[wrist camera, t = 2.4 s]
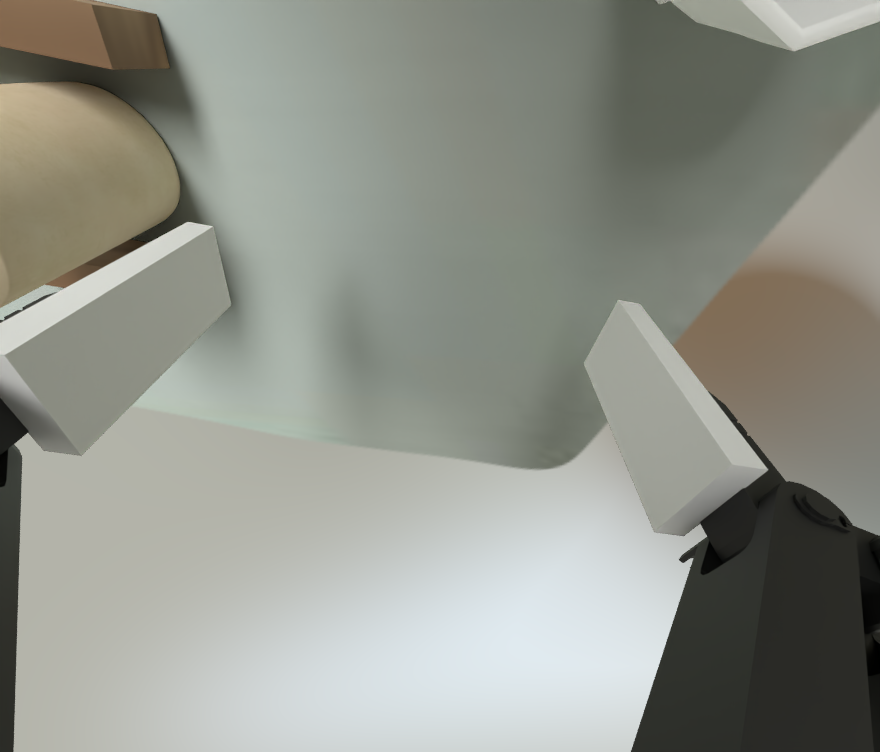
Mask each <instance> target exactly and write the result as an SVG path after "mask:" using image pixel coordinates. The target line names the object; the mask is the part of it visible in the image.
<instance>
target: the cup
mask: <svg viewBox="0 0 880 752" xmlns="http://www.w3.org/2000/svg"><path fill="white" fill-rule="evenodd" d="M655 1H656V2H657V3H659V4H663V3H666V2H668V1H670V2H672V3H673V4H674V5H675V6H676V7H678V8H679V9H680V10H681V11H683V12H684V13H685V14H687V15H688V16H689V17H690V18H692V19H693V20H694V21H695V22H697V23H700V24H704V25H708V26H712V27H715V28H719V29H723V30H726V31H730V32H734V33H737V34H740V35H742V36H745V37H748V38H751V39H754V40H757V41H759V42H762V43H766V44H769V45H773V46H776V47H780V48H783V49H786V50H790V51H793V52H794V51H797V50H800V49H803V48H806V47H808V46H811V45H814V44H817V43H820V42H823V41H825V40H828V39H831V38H834V37H837V36H840V35H843V34H845V33H848V32H851V31H854V30H857V29H860V28H862V27H865V26H868V25H871V24H874V23H877V22H880V0H655Z"/></svg>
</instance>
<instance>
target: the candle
mask: <svg viewBox="0 0 880 752" xmlns="http://www.w3.org/2000/svg"><path fill="white" fill-rule="evenodd" d="M179 198H180V181H179V176H178V172H177V169H176V166H175V163H174V161H173V158H172V156H171V154H170V152H169V150H168V149H167V147H166V145H165V144H164V142H163V140H162V139H161V138H160V136H159V135H158V134H157V132H156V131H155V130H154V128H153V127H152V126H151V125H150V124H149V123H148V122H147V121H146V120H145V119H144V118H143V117H142V116H141V115H140V114H139V113H138V112H137V111H136V110H135V109H134V108H132V107H131V106H130V105H129V104H127V103H126V102H124V101H123V100H122V99H120V98H119V97H117V96H115V95H113V94H112V93H110V92H108V91H106V90H103V89H101V88H99V87H96V86H93V85H89V84H84V83H78V82H67V81H62V82H32V83H11V84H0V308H1V307H3V306H5V305H7V304H9V303H10V302H12V301H14V300H16V299H18V298H20V297H22V296H24V295H26V294H27V293H29V292H31V291H33V290H35V289H37V288H39V287H41V286H43V285H44V284H46V283H48V282H50V281H52V280H54V279H56V278H58V277H60V276H61V275H63V274H65V273H67V272H69V271H71V270H73V269H75V268H77V267H78V266H80V265H82V264H84V263H86V262H88V261H90V260H92V259H93V258H95V257H97V256H99V255H101V254H103V253H105V252H107V251H109V250H110V249H112V248H114V247H116V246H118V245H120V244H122V243H124V242H126V241H127V240H129V239H131V238H133V237H135V236H137V235H139V234H141V233H143V232H144V231H146V230H148V229H150V228H152V227H154V226H156V225H157V224H159V223H161V222H162V221H164V220H165V219H167V218H168V217H169V216H170V215H171V214H172V213H173V211H174V210H175V209H176V207H177V205H178V202H179Z"/></svg>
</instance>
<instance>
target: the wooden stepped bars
mask: <svg viewBox="0 0 880 752" xmlns="http://www.w3.org/2000/svg"><path fill="white" fill-rule="evenodd" d="M0 46H1V47H6V48H11V49H15V50H20V51H25V52H30V53H35V54H40V55H44V56H49V57H54V58H59V59H64V60H68V61H73V62H78V63H83V64H88V65H92V66H97V67H102V68H107V69H112V70H123V69H167V68H170V66H169V62H168V58H167V54H166V50H165V46H164V42H163V38H162V34H161V30H160V26H159V22H158V18H157V14H153V13H148V12H144V11H139V10H135V9H130V8H126V7H121V6H117V5H112V4H107V3H103V2H98V1H94V0H0ZM147 243H148V242H142V241H137V240H131V239H129V240H127V241H126V242H124V243H122V244H120V245H118V246H116V247H114V248H112V249H110V250H109V251H107V252H105V253H103V254H101V255H99V256H97V257H95V258H93V259H92V260H90V261H88V262H86V263H84V264H82V265H80V266H78V267H77V268H75V269H73V270H71V271H69V272H67V273H65V274H63V275H61V276H60V277H58V278H56V279H54V280H52V281H50V282H48V283H46V284H45V285H51V286H57V287H63V288H66V287H68V286H70V285H72V284H74V283H75V282H77V281H79V280H81V279H83V278H85V277H87V276H88V275H90V274H92V273H94V272H96V271H98V270H99V269H101V268H103V267H105V266H107V265H109V264H111V263H112V262H114V261H116V260H118V259H120V258H122V257H123V256H125V255H127V254H129V253H131V252H133V251H135V250H136V249H138V248H140V247H142V246H144V245H146V244H147Z"/></svg>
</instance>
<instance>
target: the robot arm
mask: <svg viewBox="0 0 880 752" xmlns="http://www.w3.org/2000/svg"><path fill="white" fill-rule="evenodd" d="M230 306H231V300H230V296H229V292H228V287H227V283H226V279H225V274H224V270H223V266H222V262H221V257H220V253H219V249H218V244H217V240H216V236H215V231H214V227H213V226H208V225H203V224H197V223H192V222H186V223H184V224H183V225H181V226H179V227H177V228H175V229H173V230H172V231H170V232H168V233H166V234H164V235H162V236H160V237H159V238H157V239H155V240H153V241H151V242H149V243H147V244H146V245H144V246H142V247H140V248H138V249H136V250H135V251H133V252H131V253H129V254H127V255H125V256H123V257H122V258H120V259H118V260H116V261H114V262H112V263H111V264H109V265H107V266H105V267H103V268H101V269H99V270H98V271H96V272H94V273H92V274H90V275H88V276H87V277H85V278H83V279H81V280H79V281H77V282H75V283H74V284H72V285H70V286H68V287H66V288H64V289H62V290H61V291H59V292H56V293H52V294H49V295H46V296H43V297H41V298H40V299H38V300H36V301H34V302H32V303H30V304H28V305H26V306H25V307H23V310H17V311H15V312H13V313H11V314H10V315H8V316H6V317H4V318H5V319H4V320H0V752H13V747H14V746H13V745H14V713H15V679H16V677H15V676H16V644H17V612H18V611H17V610H18V577H19V543H20V509H21V477H22V476H21V474H22V456H21V453H20V451H19V449H18V448H17V447H16V446H15V445H14V443H16V442H17V441H18V440H19V439H21V438H22V437H23V436H24V435H25V434H27V433H29V434H30V435H31V437H32V438H33V439H34V440H35V441H36V442H37V443H38V445H39V446H40V447H41V448H42V449H43V450H44V451H49V452H57V453H66V454H72V455H80V456H81V455H83V454H84V453H85V452H86V451H87V450H88V449H89V448H90V447H91V446H92V445H93V444H94V442H96V441H97V440H98V439H99V438H100V437H101V436H102V435H103V434H104V433H105V432H106V431H107V429H108V428H110V427H111V426H112V425H113V424H114V423H115V422H116V421H117V420H118V419H119V417H121V416H122V415H123V414H124V413H125V412H126V410H128V409H129V408H130V407H131V406H132V405H133V404H134V403H135V401H136V400H137V399H138V398H139V397H140V396H141V395H142V394H143V393H144V392H145V391H146V390H147V389H148V388H149V387H150V386H151V385H152V384H153V383H154V382H155V381H156V380H157V379H158V378H159V377H160V376H161V375H162V374H163V373H164V372H165V371H166V370H167V369H168V368H169V367H170V366H171V365H172V364H173V363H174V362H175V361H176V360H177V359H178V358H179V357H180V356H181V355H182V354H183V353H184V352H185V351H186V350H187V349H188V348H189V347H190V346H191V345H192V344H193V343H194V342H195V341H196V340H197V339H198V338H199V337H200V336H201V335H202V334H203V333H204V332H205V331H206V330H207V329H208V328H209V327H210V326H211V325H212V324H213V323H214V322H215V321H216V320H217V319H218V318H219V317H220V316H221V315H222V314H223V313H224V312H225V311H226V310H227V309H228V308H229V307H230ZM584 366H585V368H586V371H587V373H588V375H589V378H590V380H591V383H592V385H593V387H594V390H595V392H596V395H597V397H598V399H599V402H600V404H601V406H602V409H603V411H604V414H605V416H606V418H607V421H608V423H609V426H610V428H611V430H612V432H613V435H614V437H615V440H616V442H617V445H618V447H619V449H620V452H621V454H622V457H623V459H624V461H625V464H626V466H627V468H628V471H629V473H630V476H631V478H632V480H633V483H634V485H635V487H636V490H637V492H638V495H639V497H640V499H641V501H642V504H643V506H644V509H645V511H646V514H647V516H648V519H649V521H650V523H651V526H652V528H653V530H654V532H656V533H665V534H672V535H679V536H685V535H686V534H687V533H689V532H690V531H691V530H692V529H694V528H695V527H696V526H698V525H699V524H701V525H702V527H703V529H704V531H705V533H706V535H707V537H706V538H705V539H703V540H702V541H701V542H699V543H698V544H697V545H695V546H694V547H692V548H691V549H690V550H688V551H687V552H686V553H684V554H683V555H682V556H681V557H680V559H679V560H680V561H681V562H682V563H684V562H685V561H687V560H688V559H690V558H694V559H693V562H692V565H691V567H690V571H689V574H688V578H687V581H686V584H685V587H684V590H683V593H682V596H681V599H680V602H679V605H678V608H677V611H676V615H675V618H674V621H673V624H672V627H671V630H670V633H669V636H668V639H667V642H666V645H665V648H664V652H663V655H662V658H661V661H660V664H659V667H658V670H657V673H656V677H655V679H654V682H653V685H652V689H651V692H650V695H649V698H648V701H647V704H646V707H645V710H644V714H643V717H642V719H641V722H640V726H639V729H638V732H637V735H636V738H635V741H634V744H633V747H632V750H631V752H880V536H878V535H875V534H873V533H870V532H868V531H865V530H863V529H860V528H857V527H855V526H853V525H852V523H851V522H850V521H849V519H848V518H847V517H846V516H845V515H844V513H843V512H842V511H841V510H840V509H839V508H838V507H837V506H836V505H835V504H833V503H832V502H831V501H830V500H829V499H827V498H826V497H824V496H823V495H821V494H820V493H818V492H817V491H815V490H813V489H811V488H808V487H806V486H804V485H802V484H799V483H794V482H790V481H789V482H786V481H785V480H784V478H783V477H782V476H781V474H780V473H779V472H778V471H777V469H776V468H775V467H774V466H773V464H772V463H771V462H770V461H769V460H768V458H767V457H766V456H765V454H764V453H763V452H762V451H761V449H760V448H759V447H758V445H757V444H756V443H755V442H754V441H753V439H752V438H751V437H750V436H747V432H746V430H745V429H744V428H743V427H742V425H741V424H740V423H737V419H736V418H735V417H734V415H733V414H732V413H731V412H730V410H729V409H728V408H727V407H726V405H725V404H723V403H722V402H721V401H720V400H718V399H717V398H716V397H715V396H713V395H712V394H711V393H710V392H709V391H707V390H706V389H705V387H704V386H703V385H702V383H701V382H700V381H699V380H698V378H697V377H696V376H695V374H694V373H693V372H692V370H691V369H690V368H689V367H688V365H687V364H686V363H685V361H684V360H683V359H682V358H681V356H680V355H679V354H678V352H677V351H676V350H675V348H674V347H673V346H672V345H671V343H670V342H669V341H668V339H667V338H666V337H665V336H664V334H663V333H662V332H661V330H660V329H659V328H658V326H657V325H656V324H655V323H654V321H653V320H652V319H651V317H650V316H649V315H648V314H647V312H646V311H645V310H644V308H643V307H642V306H641V304H639V303H633V302H628V301H622V300H618V301H617V303H616V305H615V307H614V308H613V310H612V312H611V314H610V316H609V318H608V319H607V321H606V323H605V325H604V327H603V329H602V330H601V332H600V334H599V336H598V338H597V340H596V341H595V343H594V345H593V347H592V349H591V351H590V353H589V354H588V356H587V358H586V360H585V362H584Z"/></svg>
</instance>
